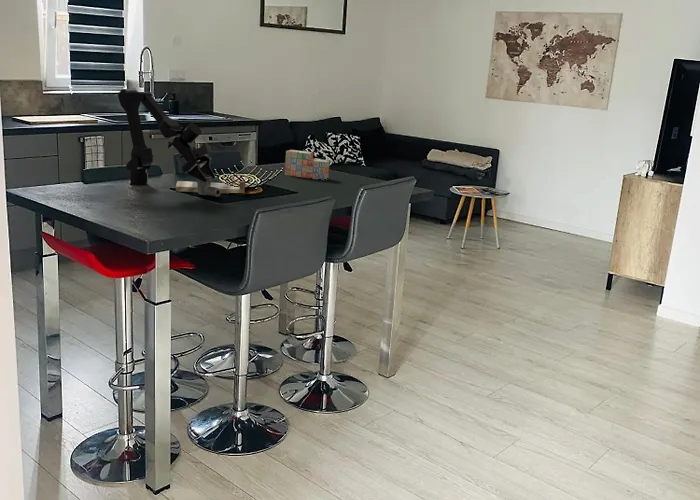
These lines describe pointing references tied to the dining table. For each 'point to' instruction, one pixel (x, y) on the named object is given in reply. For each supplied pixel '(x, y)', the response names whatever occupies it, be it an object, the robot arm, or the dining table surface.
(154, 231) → the dining table surface
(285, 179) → the dining table surface
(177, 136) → the robot arm
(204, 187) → the pipe
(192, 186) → the roller board
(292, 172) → the stack of blocks
